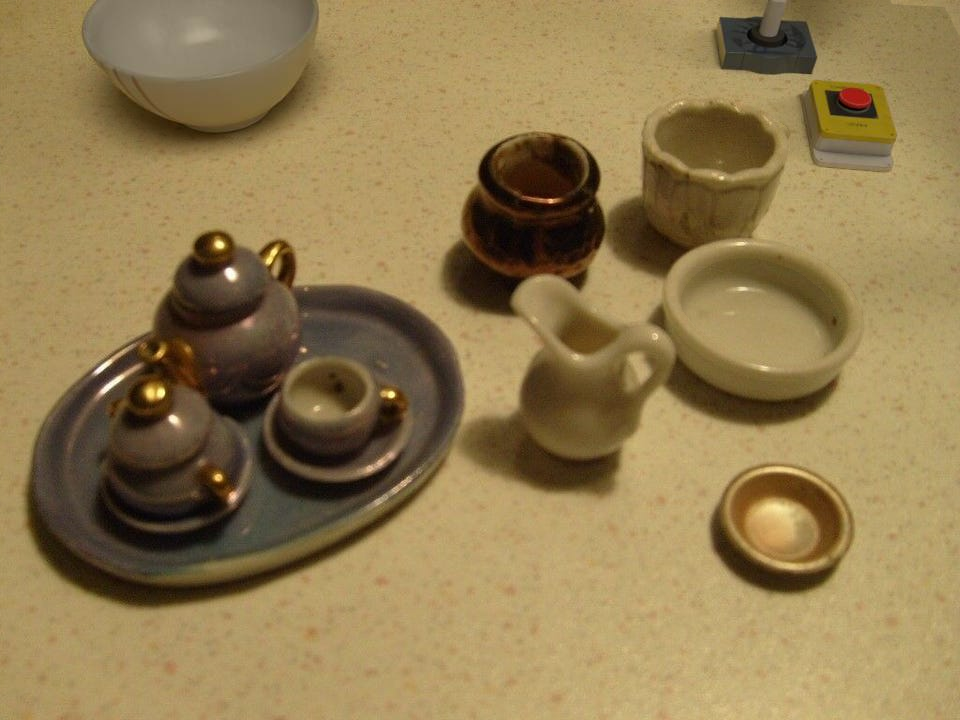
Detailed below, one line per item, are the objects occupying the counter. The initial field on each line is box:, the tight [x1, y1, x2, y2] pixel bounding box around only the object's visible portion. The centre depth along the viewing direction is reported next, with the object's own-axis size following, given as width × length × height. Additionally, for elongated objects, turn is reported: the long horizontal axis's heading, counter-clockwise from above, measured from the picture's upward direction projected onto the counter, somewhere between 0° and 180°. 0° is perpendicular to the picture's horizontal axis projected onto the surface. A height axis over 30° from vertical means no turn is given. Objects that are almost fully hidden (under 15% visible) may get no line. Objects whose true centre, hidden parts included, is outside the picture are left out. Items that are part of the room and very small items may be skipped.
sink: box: [715, 16, 818, 75], centre depth 117 cm, size 12×10×2 cm
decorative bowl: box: [81, 0, 320, 134], centre depth 104 cm, size 27×27×12 cm
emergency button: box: [800, 79, 898, 173], centre depth 105 cm, size 9×4×15 cm
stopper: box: [749, 0, 788, 48], centre depth 115 cm, size 4×4×8 cm
